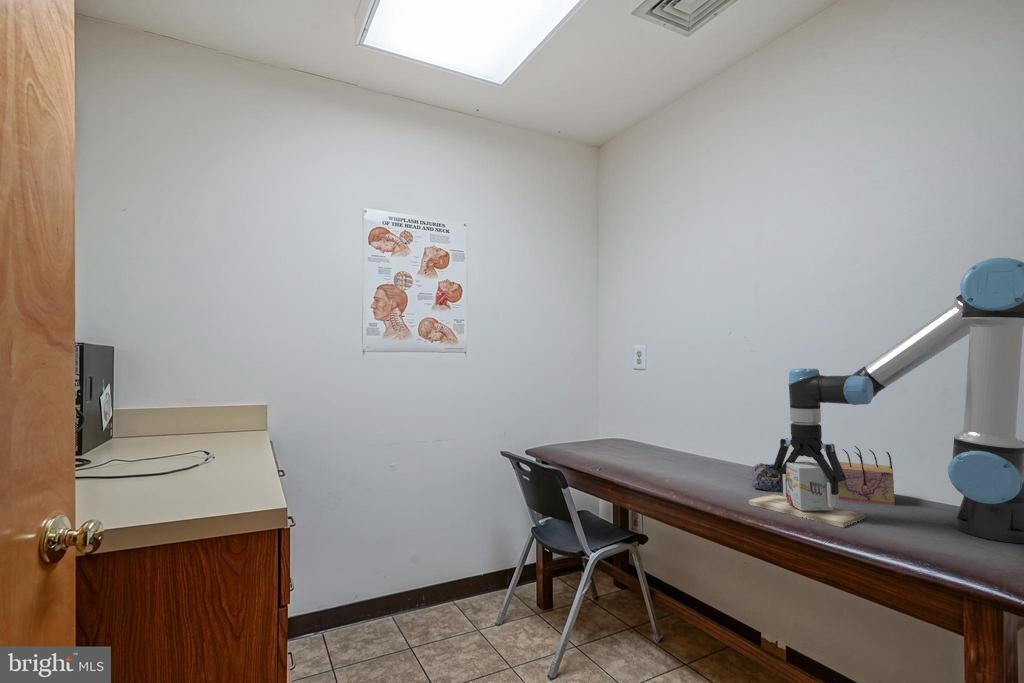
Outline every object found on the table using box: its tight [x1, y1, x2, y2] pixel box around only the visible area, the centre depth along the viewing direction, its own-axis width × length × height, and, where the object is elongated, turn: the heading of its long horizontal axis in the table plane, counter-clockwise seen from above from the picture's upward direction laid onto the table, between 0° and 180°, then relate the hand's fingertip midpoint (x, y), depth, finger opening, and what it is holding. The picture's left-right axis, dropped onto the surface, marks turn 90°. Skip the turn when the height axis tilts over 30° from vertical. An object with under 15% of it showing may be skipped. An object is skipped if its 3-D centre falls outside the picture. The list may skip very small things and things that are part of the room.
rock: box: [750, 462, 783, 492], centre depth 169 cm, size 11×10×10 cm
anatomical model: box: [835, 445, 896, 506], centre depth 155 cm, size 16×11×15 cm
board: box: [747, 493, 867, 528], centre depth 143 cm, size 26×12×1 cm, turn 32°
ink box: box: [786, 460, 832, 510], centre depth 142 cm, size 9×9×12 cm
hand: (808, 501), depth 141 cm, fingers closed on ink box, 11 cm apart
